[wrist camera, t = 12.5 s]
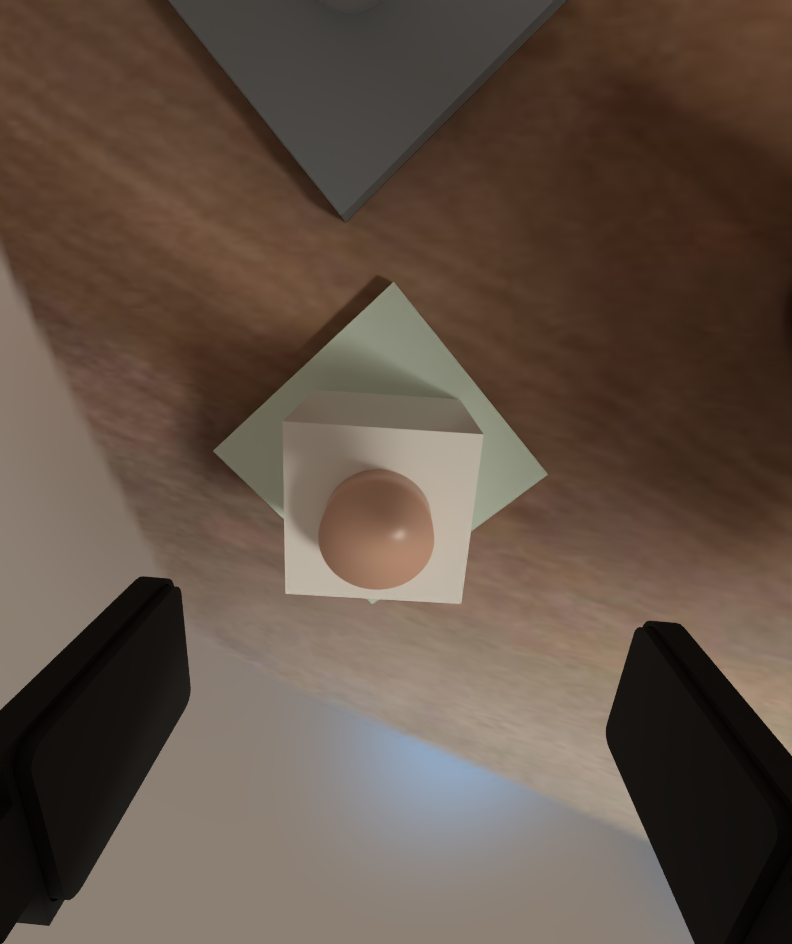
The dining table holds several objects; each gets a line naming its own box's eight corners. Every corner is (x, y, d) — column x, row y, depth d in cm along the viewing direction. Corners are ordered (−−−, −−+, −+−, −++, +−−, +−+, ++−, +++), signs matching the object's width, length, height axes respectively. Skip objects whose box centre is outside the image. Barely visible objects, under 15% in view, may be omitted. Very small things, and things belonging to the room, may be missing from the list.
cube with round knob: (459, 399, 20) (492, 448, 13) (445, 529, 22) (466, 630, 15) (314, 389, 20) (269, 433, 13) (314, 521, 22) (275, 620, 15)
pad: (542, 468, 22) (548, 474, 22) (373, 595, 25) (372, 604, 24) (393, 282, 20) (393, 281, 19) (219, 446, 22) (212, 450, 21)
